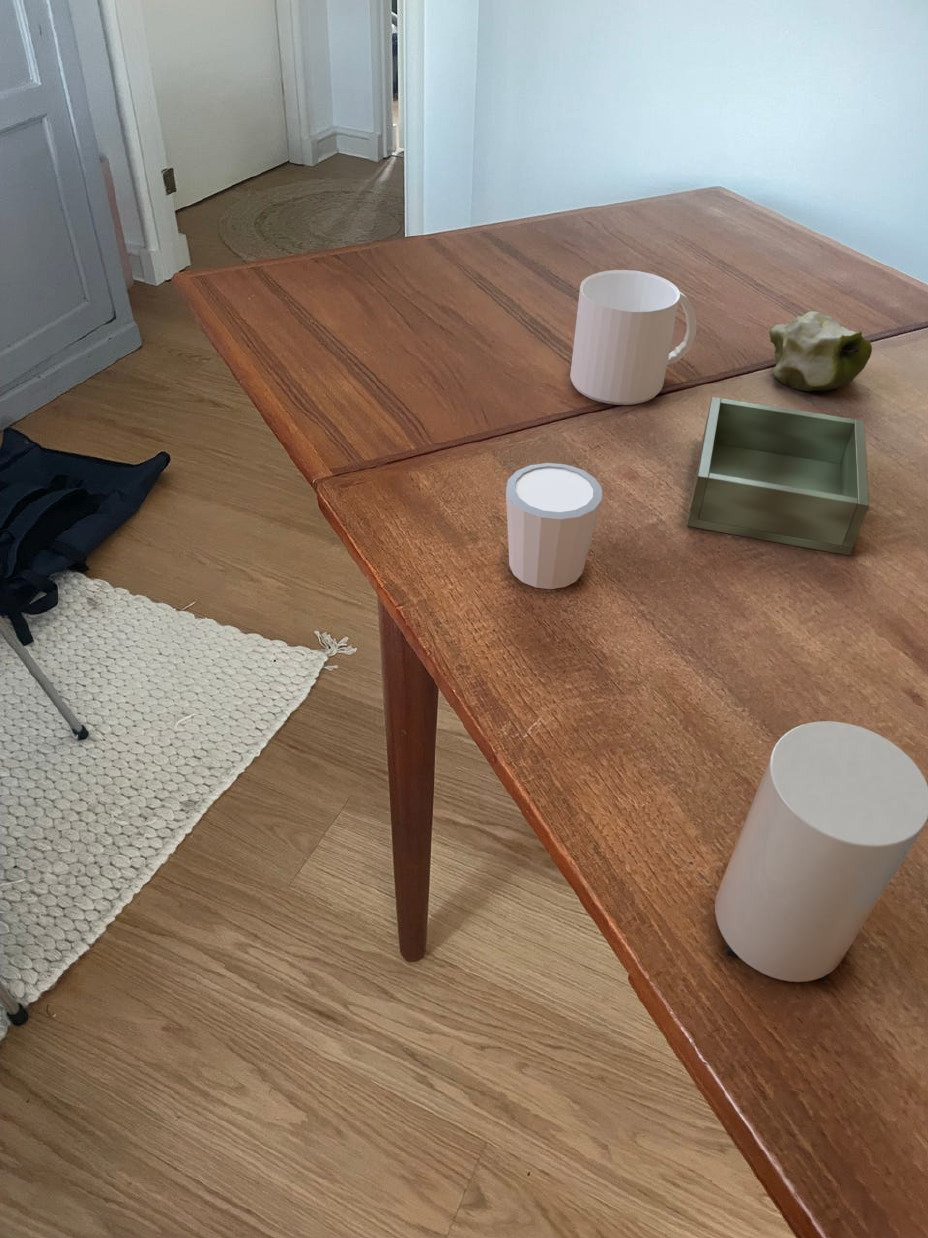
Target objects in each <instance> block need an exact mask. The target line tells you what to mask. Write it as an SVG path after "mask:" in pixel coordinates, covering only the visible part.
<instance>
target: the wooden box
mask: <svg viewBox="0 0 928 1238" xmlns="http://www.w3.org/2000/svg"><path fill="white" fill-rule="evenodd" d="M865 427H866V426H865V420H863V419H856V418H855V419H854V418H849V417H844V416H837V415H831V414H825V413H819V412H818V413H817V412H811V411H805V410H798V409H793V408H787V407H779V406H772V405H768V404H767V405H766V404H760V403H754V402H748V401H740V400H734V399H728V398H722V397H716V396H715V397H714V396H712V397H711V399H710V403H709V408H708V413H707V418H706V420H705V425H704V430H703V433H702V439H701V442H700V443H701V444H700V449H699V454H698V460H697V465H696V471H695V477H694V482H693V487H692V493H691V498H690V504H689V509H688V515H687V521H686V526H687V527H691V528H695V529H703V530H707V531H712V532H719V533H723V534H724V533H725V534H727V535H728V534H729V535H734V536H740V537H745V538H751V539H755V540H756V539H757V540H762V541H766V542H767V541H768V542H773V543H778V544H783V545H789V546H794V547H801V548H806V549H811V550H817V551H822V552H827V553H834V554H838V555H843V556H851V554H852V552H853V548H854V546H855V544H856V541H857V539H858V536H859V533H860V531H861V528H862V526H863V523H864V521H865V519H866V516H867V513H868V511H869V508H870V496H869V477H868V461H867V459H868V458H867V443H866V428H865Z"/></svg>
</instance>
